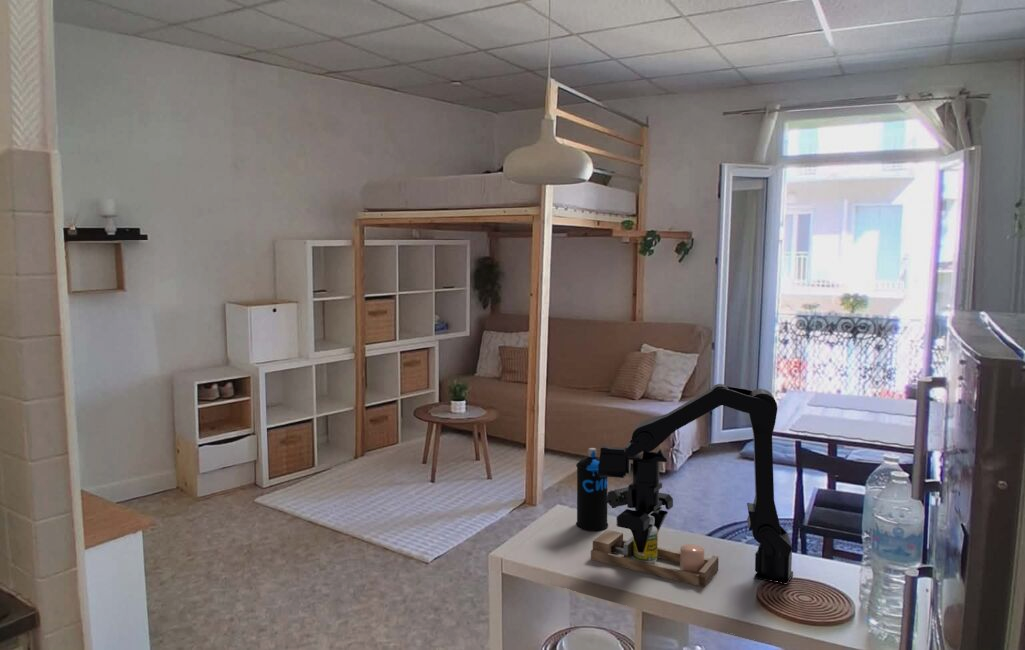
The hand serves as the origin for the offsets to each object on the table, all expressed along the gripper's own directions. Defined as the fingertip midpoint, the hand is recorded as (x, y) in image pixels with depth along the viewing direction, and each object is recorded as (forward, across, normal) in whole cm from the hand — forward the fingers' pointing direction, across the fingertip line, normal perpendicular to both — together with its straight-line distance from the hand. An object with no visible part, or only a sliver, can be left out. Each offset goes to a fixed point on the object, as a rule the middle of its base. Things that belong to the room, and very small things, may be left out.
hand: (645, 547), depth 155 cm
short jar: (+4, 0, +11) cm, 11 cm away
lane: (+3, 0, +2) cm, 4 cm away
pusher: (+3, 0, -6) cm, 7 cm away
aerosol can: (+4, -14, -20) cm, 25 cm away
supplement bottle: (+3, 0, 0) cm, 3 cm away
